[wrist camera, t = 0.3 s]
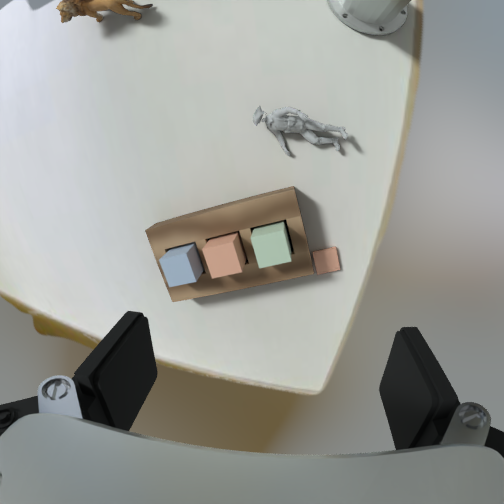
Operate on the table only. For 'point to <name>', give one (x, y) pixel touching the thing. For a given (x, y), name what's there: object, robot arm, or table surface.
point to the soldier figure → (296, 126)
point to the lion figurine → (96, 8)
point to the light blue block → (182, 264)
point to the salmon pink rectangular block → (225, 254)
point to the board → (241, 219)
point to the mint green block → (271, 244)
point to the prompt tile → (326, 260)
